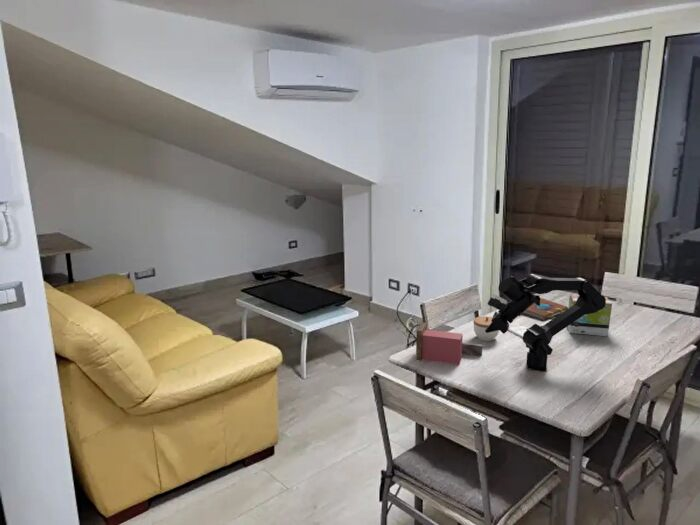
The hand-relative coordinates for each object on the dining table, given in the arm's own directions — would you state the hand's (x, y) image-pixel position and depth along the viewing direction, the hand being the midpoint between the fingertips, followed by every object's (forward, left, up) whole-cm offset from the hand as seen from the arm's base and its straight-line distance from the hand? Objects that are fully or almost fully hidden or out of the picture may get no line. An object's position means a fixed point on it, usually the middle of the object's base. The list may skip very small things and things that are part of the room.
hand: (486, 331), depth 188 cm
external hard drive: (-13, -35, -13) cm, 40 cm away
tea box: (-38, -46, -13) cm, 61 cm away
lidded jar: (+2, -25, -13) cm, 28 cm away
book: (-21, -68, -13) cm, 73 cm away
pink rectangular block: (+16, +1, -13) cm, 20 cm away
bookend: (+13, -2, -13) cm, 18 cm away
